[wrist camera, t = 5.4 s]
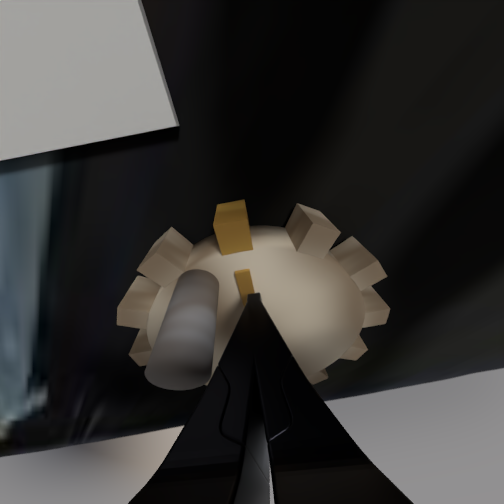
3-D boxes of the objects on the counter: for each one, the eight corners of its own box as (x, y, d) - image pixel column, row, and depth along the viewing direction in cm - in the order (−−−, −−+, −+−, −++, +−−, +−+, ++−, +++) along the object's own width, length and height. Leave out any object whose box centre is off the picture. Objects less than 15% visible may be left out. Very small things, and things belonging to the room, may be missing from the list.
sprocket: (309, 126, 9) (445, 132, 3) (389, 318, 16) (469, 417, 11) (79, 293, 13) (-44, 428, 7) (232, 384, 20) (231, 483, 15)
